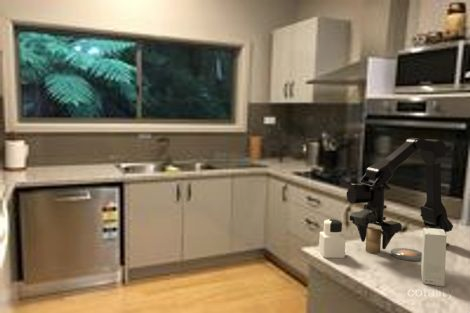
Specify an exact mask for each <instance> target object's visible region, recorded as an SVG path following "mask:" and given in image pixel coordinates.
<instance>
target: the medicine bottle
mask: <svg viewBox="0 0 470 313" xmlns="http://www.w3.org/2000/svg"><path fill="white" fill-rule="evenodd" d="M342 230H343V222H342V221H340V220H339V219H338V220H337V219H334V218H333V219H332V218H329V219H325V220H324V221H323V231H319V241H318V251H319V252H320V253H319V254H321V256H322V257H323V259H345V256H346V237H345V236H344V234H342V233H343V232H342Z"/></svg>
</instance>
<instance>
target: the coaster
mask: <svg viewBox="0 0 470 313" xmlns="http://www.w3.org/2000/svg"><path fill="white" fill-rule="evenodd" d="M390 255H391V256H392V257H394V258H395V259H399V260H402V261H406V262H407V261H408V262H421V261H422V251H419V250H416V249H411V248H407V247H397V248H396V247H395V248H392V249H391V250H390Z"/></svg>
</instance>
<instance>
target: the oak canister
mask: <svg viewBox="0 0 470 313" xmlns="http://www.w3.org/2000/svg"><path fill="white" fill-rule="evenodd" d="M380 231H383V230H382V229H381V228H380V227H376V226H375V227H374V226H368V228H367V231H366V238H365V248H364V249H365V250H364V251H365V252H367V253H370V254H380V253H381V249H382V248H381V247H382V233H381V232H380Z"/></svg>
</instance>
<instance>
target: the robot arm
mask: <svg viewBox="0 0 470 313" xmlns="http://www.w3.org/2000/svg"><path fill="white" fill-rule="evenodd" d="M446 150H447V145H446V143H445V142H444V141H443V140H440V139H431V138H430V139H428V138H426V139H420V138H415V137H409V138H407V139H406V140H405V142H404V143H403V144H401V145H400V146H399V147H398V148H396V149H395V150H394V151H393V152H392V153H391V154H389V155H388V156H387V157H386V158H384V159H383V160H381V161H378V162H375V163H374V164H372V165H370V166H368V167H367V168H366V170H365V174H363V176H362V177H361V179H360V181H359V182H358V183H351V184H350V187H348V189H347V191H346V199H347V201H348V203H349V204H351V205H354V204H364V205H363V208H362V210H360V211H354V212H351V213H350V215H349V218H348V221H350V222H351V224H354V225H355V227H357V230H358V234H359V238H360V241H361V242H362V243H363V242H364V243H365V242H366V231H367V228H368V227H369V224H371V225H376V226H379V227H381V228H380V229H381V230H382V231H380V232H381V236H382V237H381V247H382V248H381V249H382V250H386V248H387V247H388V245H389V243H390V242H391V240H392V239H393V237H394V236H395V234H398V233H399V232H402V230H403V225H402V224H401V222H399V221H394V220H388V221H387V220H386V219H387V216H384V215H385V214H384V213H385V209H387V207H388V205H386V204H385V198H386V191H387V190H390V191H391V189H392V188H391V187H390V185H388V182H389V180H391V179H392V177H393V176H394V171H395V170H396V169H397V168H398V167H399V166H401V165H402V164H403V163H404V162H406V161H407V160H408V159H409V158H410V157H411V156H413V155H414V154H415V153H416V152H417V151H419V152H420V157H421V158H422V161H423V163H424V164H425V184H426V185H425V188H426V189H425V190H426V195H425V196H426V202H425V203H424V205H421V206H420V217H421V219H422V222H423V224H424V226H426V227H427V228H433V229H443V230H444V231H445V233H446V234H447V233H450V232H451V231H453V227H454V224H453V223H452V222H451V220H450V219H449V218H448V213H447V209H446V207H445V205H444V203H443V201H442V175H441V174H442V166H441V164H442V163H443V160H444V159H445V158H446ZM447 246H450V243H449V242H448V243H447V242H446V247H447Z"/></svg>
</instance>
